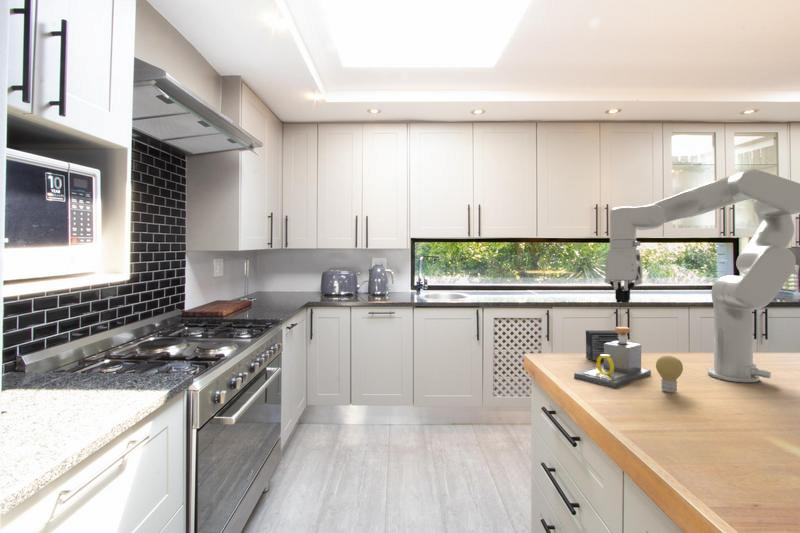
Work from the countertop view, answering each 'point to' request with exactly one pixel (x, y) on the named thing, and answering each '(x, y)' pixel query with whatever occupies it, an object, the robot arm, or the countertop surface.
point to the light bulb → (669, 372)
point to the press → (617, 366)
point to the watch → (608, 361)
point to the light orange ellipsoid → (622, 335)
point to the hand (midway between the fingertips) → (622, 302)
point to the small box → (598, 342)
